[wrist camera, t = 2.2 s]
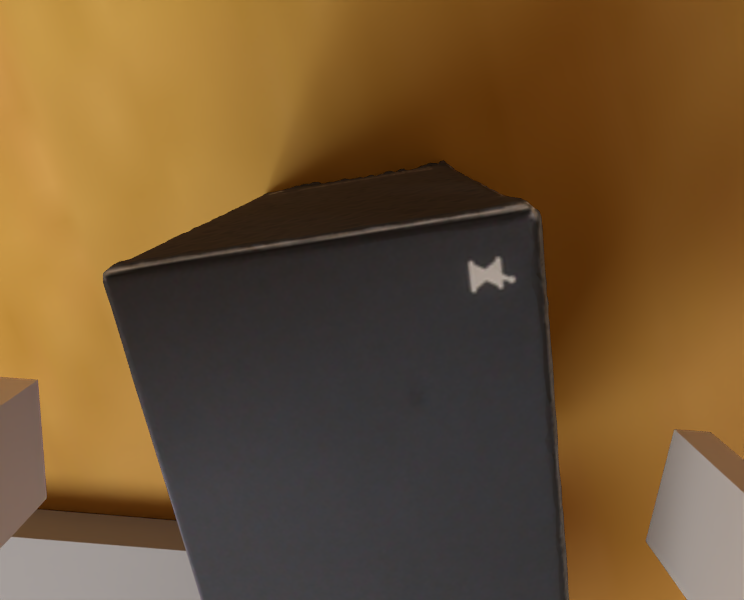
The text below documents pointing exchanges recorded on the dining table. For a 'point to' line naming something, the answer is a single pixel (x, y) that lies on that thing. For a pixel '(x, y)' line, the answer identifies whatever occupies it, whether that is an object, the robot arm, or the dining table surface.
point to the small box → (355, 392)
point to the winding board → (95, 559)
